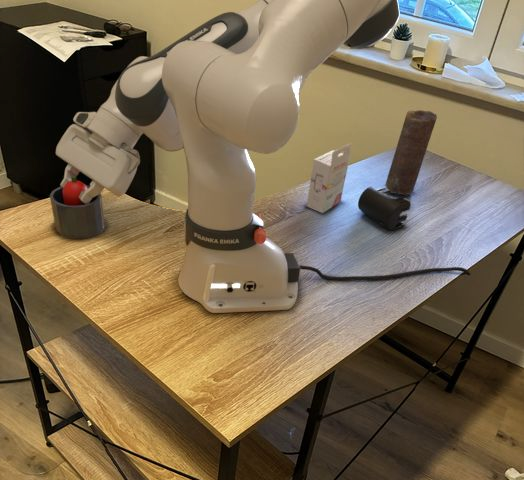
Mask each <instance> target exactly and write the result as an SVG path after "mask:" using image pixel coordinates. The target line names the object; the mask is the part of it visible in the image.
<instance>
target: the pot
mask: <svg viewBox="0 0 524 480" xmlns="http://www.w3.org/2000/svg"><path fill="white" fill-rule="evenodd" d="M85 185H86V186H87V188H90V187H91V185H87V184H85ZM62 191H63V188H62V187H61V186H59V187H57V188H55V189H53V190H52V191H51V193H49V200H50V206H51V211H52V216H53V222H54V227H55V231H56V232H57V234H59V235H60V236H62V237H65V238H68V239H74V240H84V239H89V238H90V239H91V238H93V237H96V236H98V235H100V234H101V233H102V232H103V231H104V230H105V214H104V207H103V206H104V205H103V196H102V192H101V193H100V194H98V195H97V196H95V197H93V198H92V199H91V201H90V203H89V204H86V205H79V206H70V205H64V199H63V193H62Z"/></svg>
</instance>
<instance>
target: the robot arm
mask: <svg viewBox="0 0 524 480" xmlns="http://www.w3.org/2000/svg"><path fill="white" fill-rule="evenodd" d="M399 5H400V4H399V1H398V0H258V1H256V2H255V3H254V4H252V5H250V6H249V7H247V8H245V9H243V10H241V11H238V12H234V11H226V12H223V13H221V14H218V15H217V16H214V17H212V18H210V19H208V20H207V21H205V22H204V23H202V24H201V25H199V26H197V27H196V28H195V29H194V28H193V30H191V31H190V32H188V33H186V34H185V35H184V36H182V37H181V38H179V39H177V40H175V41H174V42H172V43H170V44H169V45H168V46H166V47H165V48H163V49H162V50H160V51H158V52H156V53H154V54H153V55H151V56H144V55H143V56H142V55H141V56H138V57H136V58H135V59H134V60H132V61H131V62H130V63H129V64H128V65H127V67H126V68H125V69H124V70H122V72H121V74H120V75H119V77H118V79H117V80H116V81H115V83H114V85H113V86H112V88H111V91H110V94H109V97H108V98H107V100H106V101H105V102H104V103H102V104H101V105H100V107H99V108H98V110H97V111H89V112H88V111H78V112H76V113H75V115H74V117H73V119H72V120H73V122H74V123H72V124H71V125H69V127H67V129H66V131H65V132H64V134H63V135H62V136H61V138H60V140H59V141H58V143H57V145H56V148H55V155H56V156H57V157H58V158H59V159H61V160H63V161H64V162H65V163H67V165H66V167H65V169H64V175H63V179H62V180H61V182H60V184H59V185H60V186H59V187H62V188H63V187H64V185H65V184H66V183H67V182H69V181H71V180H72V179H71V176H76V177H77V176H78V175H79V174H80V173H82V174H83V175H85V176H86V177H87V178H89V179H91V182H90V183H89V186H91V187H90V188H88V189H87V190H86V191H85V192H84V191H81V193H80V195H79V196H78V199H79V200H81V201H82V202H84V203H85V204H89V202H90V201H91V199H92V198H93V197H95V196H97V195H98V194H100V193H101V194H102V192H103V190H104V189H106V190H107V191H109V192H110V193H112V194H113V195H115V196H116V197H118V198H120V197H122V196H124V195H125V194H126V193H127V191H128V189H129V187H130V185H131V183H132V182H133V180H134V178H135V175H136V173H137V170H138V166H139V165H140V163H141V156H140V152H139V151H138V150H137V149H135V148H134V147H135V146H136V144H137V142H138V141H139V139H140V138H141V136H142V135H143V134H144V135H145V136H146V137H147V138H149V140H150V141H152V142H153V144H155V145H156V146H157V147H159V148H160V149H162V150H164V151H166V152H170V153H171V152H177V151H180V150H182V149H183V151H184V156H185V161H186V170H187V171H186V172H187V209H186V210H185V216H184V223H183V224H184V225H183V226H184V227H183V228H184V229H183V230H184V234H183V235H184V240H185V241H184V242H185V252H184V257H183V263H182V266H181V269H180V273H179V275H178V280H177V281H178V282H177V283H178V287H179V289H180V290H181V291H182V292H183V293H184V294H185V295H186V296H187V297H188V298H190V299H191V300H193V301H196V302H198V303H199V304H201V305H202V306H203V308H204V309H205V310H206V311H207V312H209V313H211V314H224V313H246V312H247V313H248V312H268V311H270V312H271V311H287V310H291V309H292V307H293V306H294V305H296V302H297V299H298V292H299V291H298V290H299V286H298V285H299V284H298V282H299V279H300V273H301V270H304V271H311V272H315V273H316V274H317V275H318V276H319V277H320V278H321V279H325V280H328V281H338V282H341V281H344V282H345V281H374V280H378V281H379V280H389V279H397V278H402V277H408V276H414V275H419V274H420V275H421V274H427V273H439V272H454V271H455V272H456V271H457V272H462V273H464V274H465V275H467V276H471V273H470V271H469V270H468V269H466V268H465V267H460V266H452V267H433V268H432V267H431V268H424V269H417V270H411V271H405V272H400V273H394V274H393V273H392V274H383V275H370V276H369V275H367V276H366V275H360V276H359V275H358V276H357V275H356V276H355V275H354V276H353V275H352V276H351V275H350V276H331V275H326V274H324V273H323V272H322V271H321V270H320V269H318V268H316V267H314V266H308V265H301V264H299V262H298V260H297V258H296V257H295V255H294V253H293V252H284V251H283V249H282V247H280V246H279V245H278V244H276V243H275V242H273V240H271V239H269V237H267V231H266V230H265V229H264V220H262V215H261V213H260V212H258V215H256V213H254V206H255V198H256V197H255V196H256V185H257V172H256V169H255V165H254V163H253V161H252V160H251V156H250V155H249V153H248V151H250V152H253V153H256V154H261V155H270V154H273V153H275V152H277V151H279V150H280V149H282V148H283V147H284V146H285V145H286V144H287V143H288V142H289V141H290V140H291V138H292V137H293V135H294V133H295V131H296V129H297V127H298V124H299V119H300V112H301V111H300V110H301V109H300V108H301V107H300V100H299V96H300V93H301V91H302V89H303V87H304V86H305V83H306V82H307V80H308V79H309V78H310V76H311V75H312V74H314V72H315V71H316V70H317V69H318V68H319V67H320V66H321V65H322V64H323V63H324V62H325V61H327V59H328V58H329V57H330V56H331V55H333V54H334V53H335V52H336V51H337V50H338V49H339V48H341V46H342V45H344V46H345V47H348V48H351V49H355V50H363V49H365V48H369V47H373V46H374V45H377V44H378V43H380V42H381V41H382V40H383V39H385V38H386V37H387V36H388V34H390V32H391V31H392V30H393V28H394V27H395V26H396V25H397V23H398V21H399V18H400V16H401V14H400V13H401V12H400V6H399Z"/></svg>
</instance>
